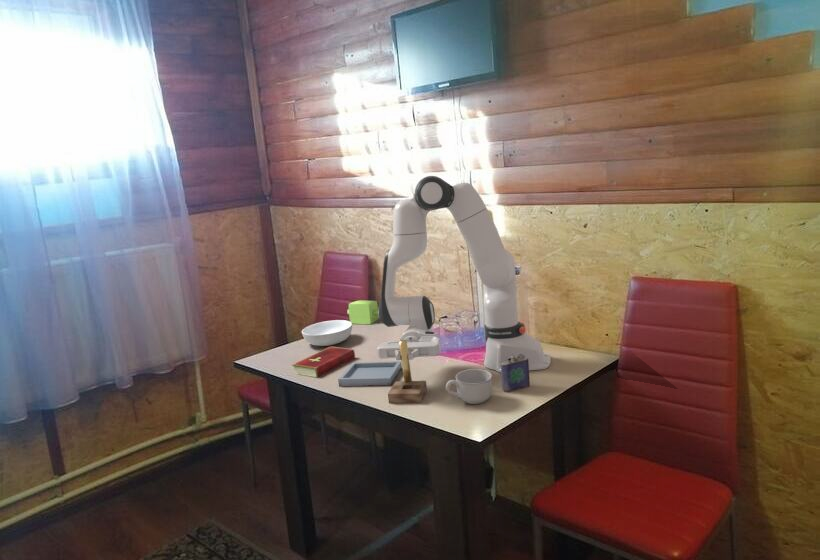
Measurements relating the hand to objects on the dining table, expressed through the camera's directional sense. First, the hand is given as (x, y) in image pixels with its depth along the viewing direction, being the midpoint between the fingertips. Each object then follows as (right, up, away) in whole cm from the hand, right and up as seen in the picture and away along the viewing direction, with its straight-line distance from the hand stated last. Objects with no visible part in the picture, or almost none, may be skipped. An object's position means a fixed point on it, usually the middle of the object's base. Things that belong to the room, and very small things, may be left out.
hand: (404, 357), depth 189 cm
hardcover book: (-30, -9, +41) cm, 51 cm away
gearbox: (-18, +5, +95) cm, 97 cm away
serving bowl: (-32, -3, +69) cm, 76 cm away
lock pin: (+1, -8, +3) cm, 8 cm away
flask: (+34, -10, +1) cm, 36 cm away
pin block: (+1, -12, +4) cm, 13 cm away
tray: (-12, -10, +24) cm, 28 cm away
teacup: (+20, -12, -5) cm, 24 cm away
